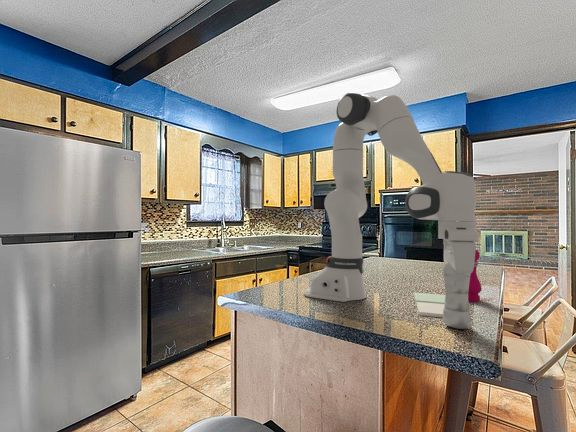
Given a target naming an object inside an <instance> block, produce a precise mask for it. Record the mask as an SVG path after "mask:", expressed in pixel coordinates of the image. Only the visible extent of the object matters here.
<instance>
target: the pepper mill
mask: <svg viewBox="0 0 576 432" xmlns="http://www.w3.org/2000/svg"><path fill="white" fill-rule="evenodd" d="M480 256H481V255H480V252H479V250H477V249H476V250H475V262H474V269H473V272H472V273H471V274H470V281H469V290H468V302H470V303H478V302H480V301H481V296H480V295H479V294H480V293H481V292H482V290H483V289H482V283H481V281H480V279H479V277H478V275H477V267H478V266H479V262H478V260H479V259H480V258H481V257H480Z"/></svg>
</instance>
